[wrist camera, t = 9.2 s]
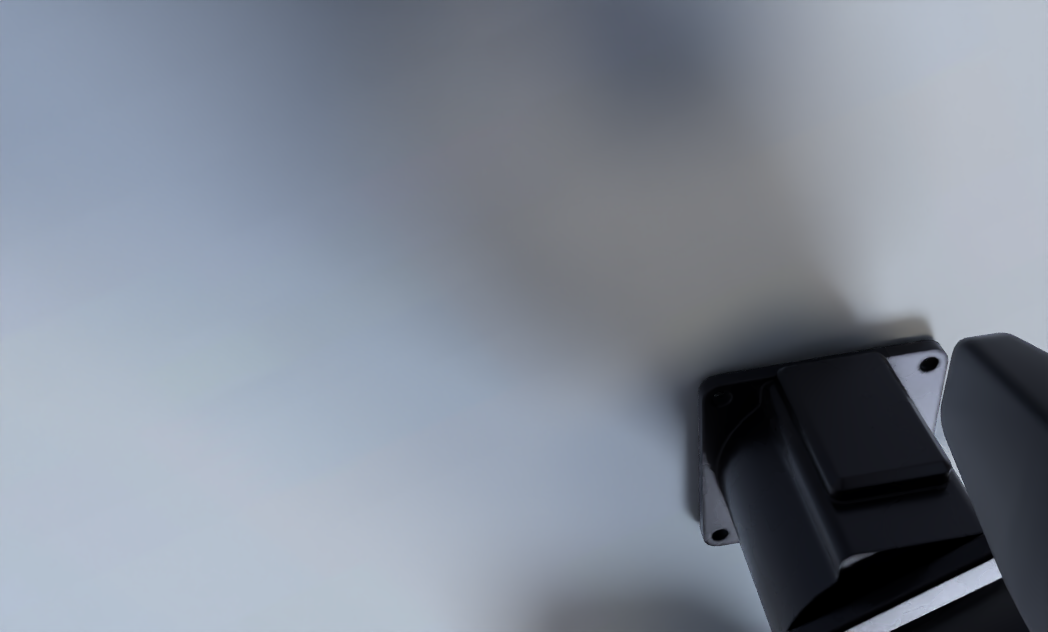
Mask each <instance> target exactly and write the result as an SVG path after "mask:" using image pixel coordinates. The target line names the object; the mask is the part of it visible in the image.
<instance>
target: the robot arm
mask: <svg viewBox="0 0 1048 632" xmlns="http://www.w3.org/2000/svg"><path fill="white" fill-rule="evenodd" d="M929 357H930V358H929ZM926 358H928V359H927V360H925V359H926ZM923 360H925V361H923ZM922 361H923V362H922ZM947 364H948V356H947V354H946V353H945V351H944V350H943V348H942V347H941V346H940V344H939V343H938V342H936V341H933V340H923V341H917V342H911V343H905V344H899V345H893V346H887V347H881V348H875V349H869V350H863V351H857V352H851V353H845V354H839V355H833V356H827V357H821V358H815V359H809V360H803V361H797V362H791V363H785V364H779V365H773V366H767V367H761V368H755V369H749V370H743V371H737V372H731V373H725V374H719V375H715V376H712V377H709V378H708V379H706V380H705V381H704V382H703V383H702V384H701V385H700V387H699V391H698V412H699V504H700V530H701V533H702V536H703V539H704V542H705V543H707V544H708V545H711V546H722V545H728V544H733V543H739V542H740V545H741V548H742V550H743V553H744V556H745V559H746V561H747V564H748V567H749V570H750V573H751V575H752V578H753V581H754V584H755V586H756V589H757V592H758V595H759V597H760V600H761V603H762V606H763V609H764V611H765V614H766V617H767V620H768V622H769V625H770V628H771V631H772V632H1048V353H1047V352H1045V351H1043V350H1041V349H1039V348H1037V347H1035V346H1033V345H1031V344H1030V343H1028V342H1026V341H1024V340H1022V339H1020V338H1018V337H1016V336H1014V335H1011V334H1008V333H994V334H988V335H981V336H974V337H968V338H964V339H962V340H960V341H959V342H958V343H957V344H956V346H955V347H954V350H953V353H952V357H951V361H950V366H949V371H948V376H947V380H946V385H945V390H944V394H943V399H942V404H941V423H942V428H943V432H944V435H945V438H946V440H947V443H948V445H949V448H950V450H951V453H952V455H953V458H954V460H955V463H956V465H957V468H958V470H959V473H960V475H961V478H962V480H963V482H964V485H965V487H966V488H965V487H964V485H963V484H962V482H961V480H960V479H959V477H958V475H957V474H956V472H955V471H954V469H953V467H952V466H951V462H950V460H949V459H948V457H947V455H946V454H945V452H944V450H943V449H942V447H941V446H940V444H939V442H938V441H937V439H936V438H935V436H934V430H935V425H936V420H937V415H938V410H939V405H940V400H941V395H942V390H943V385H944V380H945V374H946V369H947ZM720 392H724V393H723V394H721V395H719V396H714V395H715V394H717V393H720Z"/></svg>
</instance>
